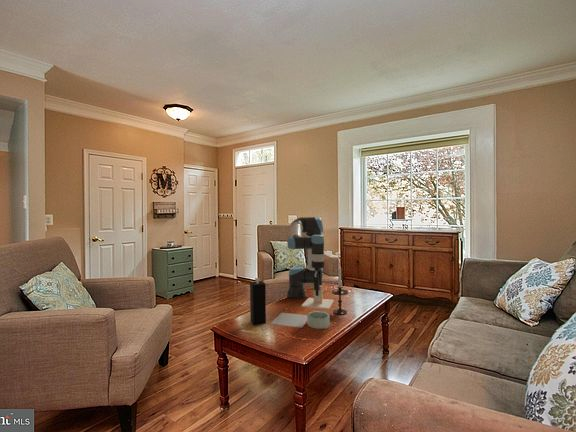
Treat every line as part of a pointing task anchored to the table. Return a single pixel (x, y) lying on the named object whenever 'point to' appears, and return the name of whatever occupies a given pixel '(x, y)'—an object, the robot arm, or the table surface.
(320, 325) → the bowl
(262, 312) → the black block
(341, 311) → the candlestick
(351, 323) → the table surface
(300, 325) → the mat
